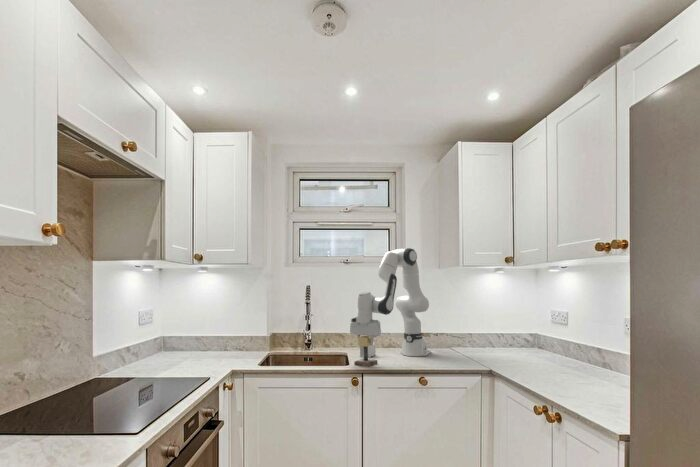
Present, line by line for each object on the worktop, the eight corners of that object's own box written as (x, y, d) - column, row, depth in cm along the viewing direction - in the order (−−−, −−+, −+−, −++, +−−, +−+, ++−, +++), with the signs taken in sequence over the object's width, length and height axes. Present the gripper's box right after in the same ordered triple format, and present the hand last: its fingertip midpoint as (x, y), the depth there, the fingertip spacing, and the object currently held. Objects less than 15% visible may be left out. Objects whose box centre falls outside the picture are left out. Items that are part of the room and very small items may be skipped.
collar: (363, 344, 250) (363, 335, 251) (372, 345, 247) (372, 336, 247) (358, 345, 245) (358, 337, 245) (367, 346, 241) (367, 337, 242)
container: (365, 354, 275) (365, 334, 276) (375, 355, 271) (375, 335, 272) (359, 356, 268) (359, 336, 270) (370, 357, 264) (369, 337, 266)
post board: (363, 361, 252) (362, 341, 253) (377, 363, 246) (376, 343, 247) (354, 364, 243) (354, 344, 245) (368, 366, 238) (368, 345, 239)
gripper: (382, 319, 244) (383, 343, 243) (354, 318, 256) (354, 340, 254) (377, 320, 239) (378, 344, 238) (348, 319, 250) (348, 342, 249)
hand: (365, 342), depth 246 cm, fingers closed on collar, 6 cm apart
